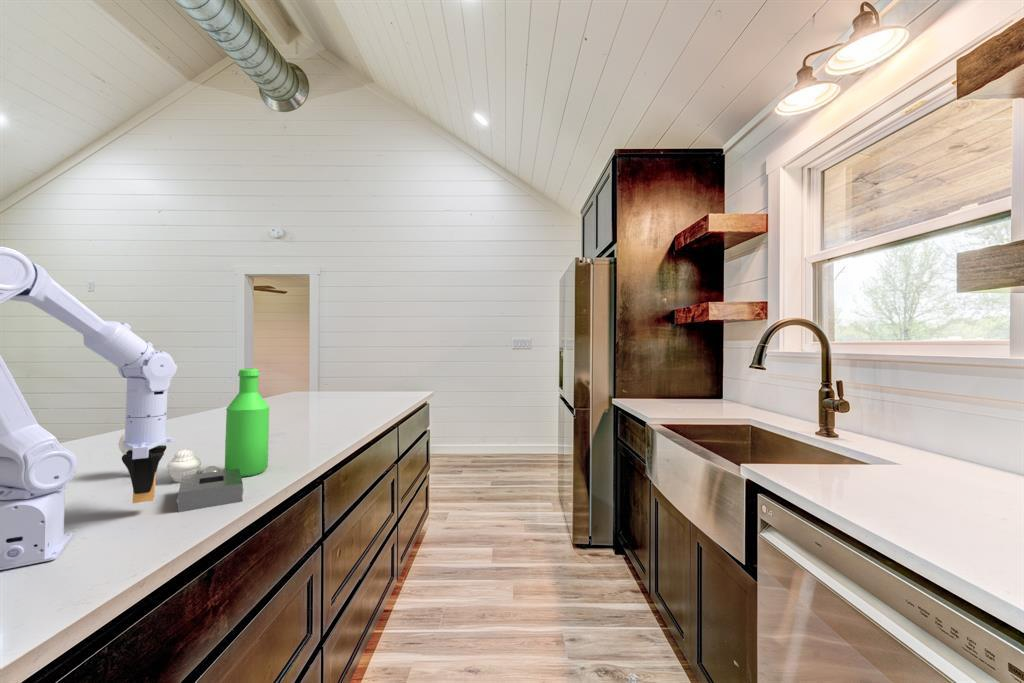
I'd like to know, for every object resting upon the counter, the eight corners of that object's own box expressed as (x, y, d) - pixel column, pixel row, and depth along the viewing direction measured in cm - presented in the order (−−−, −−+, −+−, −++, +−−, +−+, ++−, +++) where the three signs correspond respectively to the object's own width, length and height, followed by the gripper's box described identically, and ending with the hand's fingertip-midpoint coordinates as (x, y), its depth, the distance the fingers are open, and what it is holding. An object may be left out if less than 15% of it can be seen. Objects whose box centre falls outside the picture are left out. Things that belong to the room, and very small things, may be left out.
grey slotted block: (245, 500, 84) (245, 482, 84) (174, 512, 77) (174, 492, 77) (240, 478, 97) (240, 462, 97) (179, 486, 91) (180, 469, 91)
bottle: (216, 474, 100) (219, 368, 100) (253, 465, 107) (256, 367, 108) (238, 480, 96) (241, 370, 96) (275, 470, 103) (277, 369, 104)
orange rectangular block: (153, 500, 77) (154, 467, 77) (132, 503, 75) (133, 469, 75) (154, 495, 79) (156, 463, 79) (134, 498, 77) (136, 465, 77)
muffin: (180, 485, 92) (181, 453, 92) (159, 482, 93) (160, 451, 93) (207, 477, 98) (208, 447, 98) (187, 474, 99) (188, 445, 99)
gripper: (171, 419, 74) (168, 497, 73) (177, 409, 85) (174, 476, 85) (117, 422, 70) (113, 505, 69) (130, 411, 81) (127, 482, 81)
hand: (143, 490), depth 77 cm, fingers closed on orange rectangular block, 3 cm apart
